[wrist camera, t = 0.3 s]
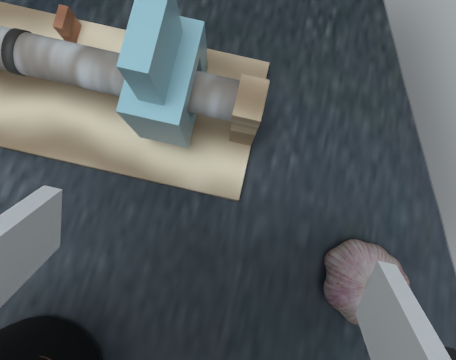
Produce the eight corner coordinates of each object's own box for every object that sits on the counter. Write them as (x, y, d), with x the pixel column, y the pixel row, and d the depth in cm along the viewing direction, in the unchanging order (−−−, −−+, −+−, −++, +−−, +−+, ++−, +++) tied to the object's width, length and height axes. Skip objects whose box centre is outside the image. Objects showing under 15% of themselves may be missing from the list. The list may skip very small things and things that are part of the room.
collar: (188, 148, 30) (167, 98, 18) (139, 137, 30) (86, 80, 18) (207, 67, 31) (200, -32, 19) (161, 56, 31) (123, -50, 19)
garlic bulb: (310, 241, 34) (338, 247, 26) (389, 232, 34) (440, 235, 26) (322, 327, 33) (355, 360, 25) (402, 317, 33) (460, 347, 25)
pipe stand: (238, 201, 34) (245, 193, 24) (-38, 138, 34) (-138, 105, 24) (267, 69, 35) (284, 12, 26) (3, 9, 35) (-76, -69, 26)
